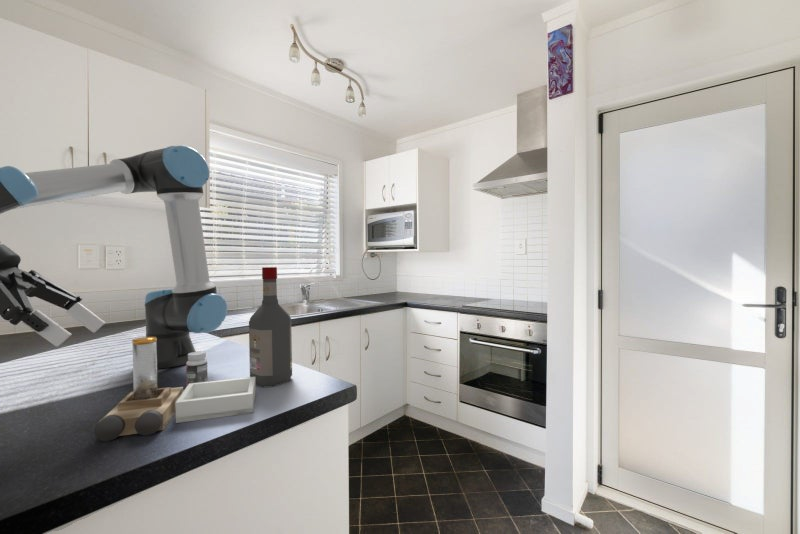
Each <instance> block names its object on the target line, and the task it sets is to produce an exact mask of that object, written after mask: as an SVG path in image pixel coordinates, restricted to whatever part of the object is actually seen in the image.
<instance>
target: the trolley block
mask: <svg viewBox="0 0 800 534" xmlns="http://www.w3.org/2000/svg"><path fill="white" fill-rule="evenodd" d="M183 391H184V386H179V387H171V386H170V387H168V386H167V387H161V388H158V398H152V399H143V400H134V390H133V391H132V390H131V392H129V393H128V394H127V395H126V396H125V397H124V398H123V399H121V400H120V401H119V402H118V403H117V405H116V406H114V408H112V409H111V410H110V411H109V412H108V413H107V414H105V415H104V416H103V417H102V418H101V419H100V420H99V421H98V422H97V424H96V425H95V427H94V430H93V435H94V436H95V437H96V438H97V439H98V440H99V441H103V442H110V441H113V440H115V439H117V438H118V437H121V436H129V435H130V436H131V435H136V434H139V435H141V436H150V435H153V434H155V433H157V432H158V431H163V430H165V428H166V426H167V425H168V424H169V422H170V420H171V419H172V417H174V415H175V414H176V408H175V403H176V401H177V400H178V398H179V397H180V396H181V394H182V393H183Z"/></svg>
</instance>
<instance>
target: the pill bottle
mask: <svg viewBox="0 0 800 534" xmlns="http://www.w3.org/2000/svg"><path fill="white" fill-rule="evenodd" d="M206 357H207V353H206V351H202V350H200V351H199V350H198V351H196V352H192V353H189V354H188V360H189V361H187V363H186V364H185V369H186V370H185V373H186V375H185V376H186V378H185V379H186V383H185V384H186V387H187V386H188V384H190V383H200V382H209V381H208V360H207V358H206Z"/></svg>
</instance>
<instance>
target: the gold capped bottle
mask: <svg viewBox="0 0 800 534" xmlns="http://www.w3.org/2000/svg"><path fill="white" fill-rule="evenodd" d="M156 341H157V337H146V336H143V337H137V338H133V339H132V340H131V343H132V380H133V381H132V382H133V385H132V386H133V391H134V400H143V399H152V398H158V389H159V388H158V369H157V342H156Z"/></svg>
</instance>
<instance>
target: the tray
mask: <svg viewBox="0 0 800 534" xmlns="http://www.w3.org/2000/svg"><path fill="white" fill-rule="evenodd" d="M256 387H257V385H256V380H255V377H250V376H249V377H247V376H246V377H241V378H240V377H239V378H229V379H219V380H210V381H208V382H200V383H190V384H188V386H187V385H186V387H185V389H183V393H182V394H181V396H180V397H179V398H178V400H177V401H176V403H175V408H176V412H175V424H180V423H186V422H194V421H200V420H207V419H208V420H209V419H216V418H223V417H231V416H239V415H245V414H252V413H254V407H255V401H256V394H257V393H256V392H257V390H256V389H257V388H256Z"/></svg>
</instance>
